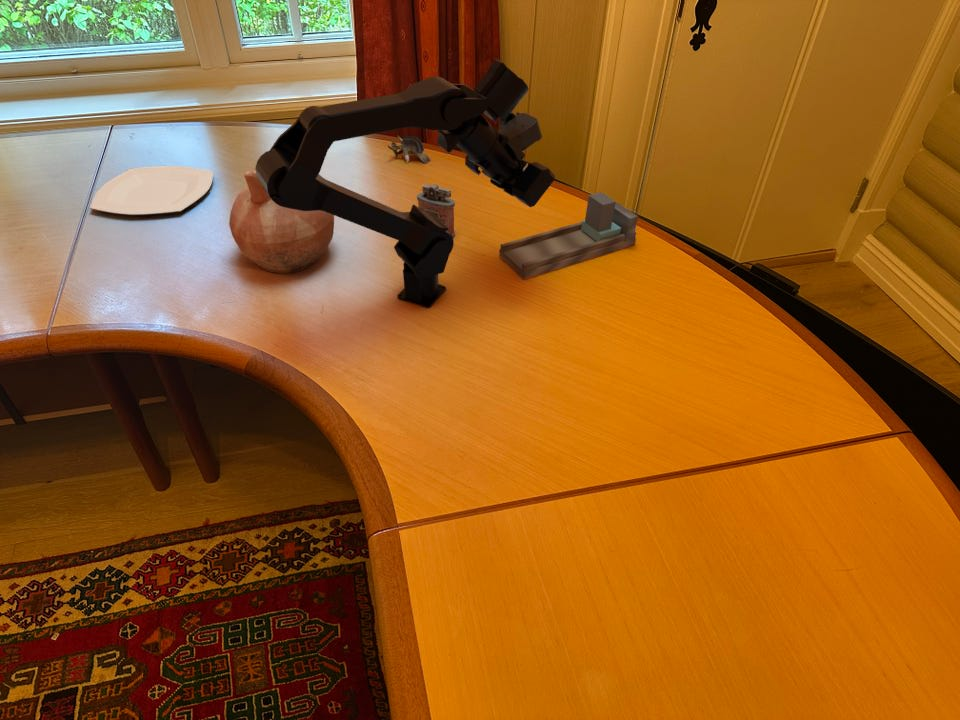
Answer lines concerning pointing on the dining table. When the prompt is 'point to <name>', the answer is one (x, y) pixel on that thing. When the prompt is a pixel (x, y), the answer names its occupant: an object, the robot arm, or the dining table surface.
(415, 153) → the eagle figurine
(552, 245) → the rail
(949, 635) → the dining table surface
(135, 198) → the plate
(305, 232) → the jug
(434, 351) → the dining table surface
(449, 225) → the lighter
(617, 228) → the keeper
